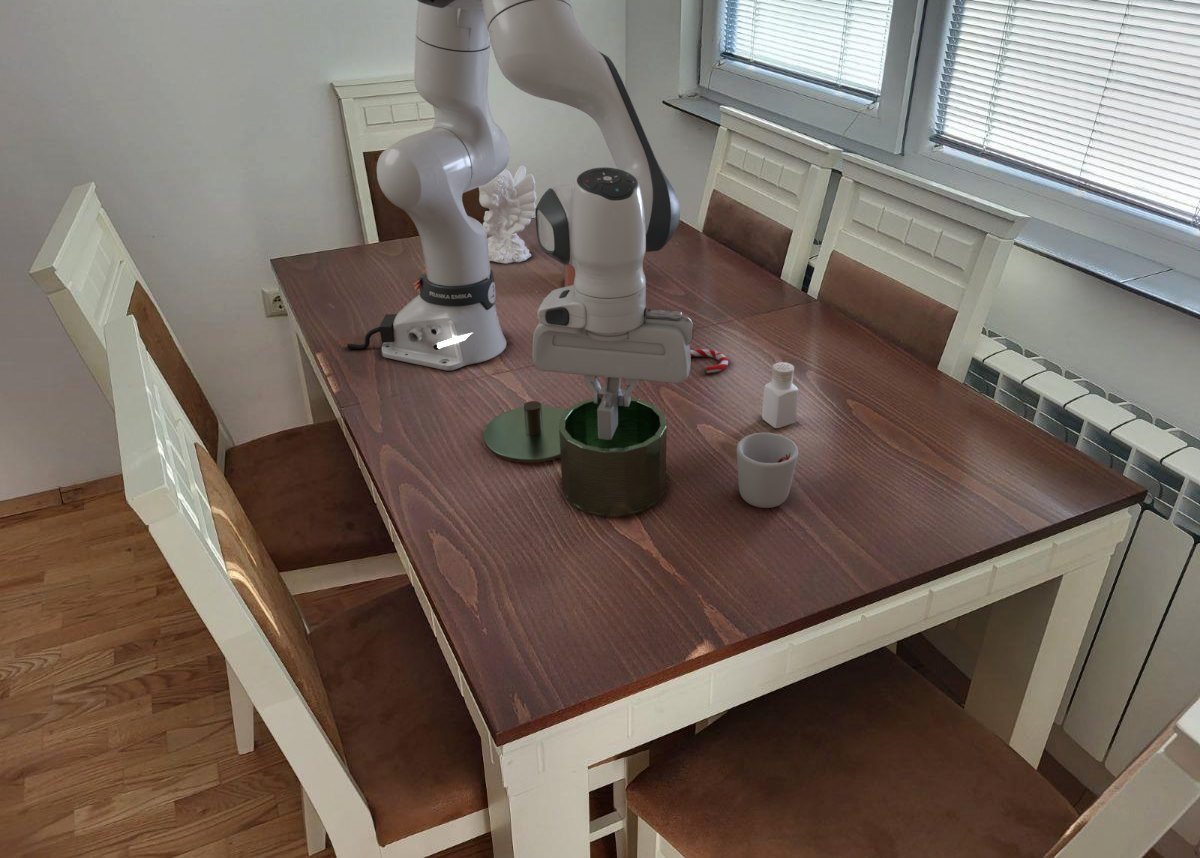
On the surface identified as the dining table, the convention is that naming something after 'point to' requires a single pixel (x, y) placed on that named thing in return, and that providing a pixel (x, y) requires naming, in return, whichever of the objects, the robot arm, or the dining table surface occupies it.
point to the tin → (613, 459)
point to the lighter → (609, 409)
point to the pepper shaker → (780, 397)
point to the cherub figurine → (508, 214)
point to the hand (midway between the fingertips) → (612, 403)
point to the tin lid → (525, 433)
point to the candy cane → (713, 355)
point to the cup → (765, 468)
